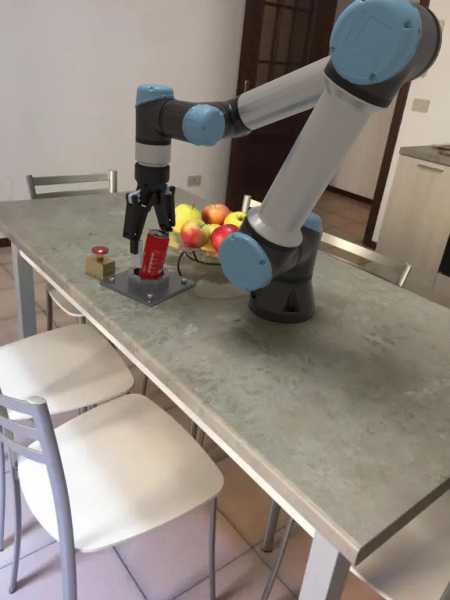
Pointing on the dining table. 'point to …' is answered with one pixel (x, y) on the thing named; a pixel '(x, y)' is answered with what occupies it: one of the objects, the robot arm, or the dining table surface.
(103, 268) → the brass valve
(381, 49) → the robot arm
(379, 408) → the dining table surface
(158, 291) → the flange socket
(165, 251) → the beverage can
